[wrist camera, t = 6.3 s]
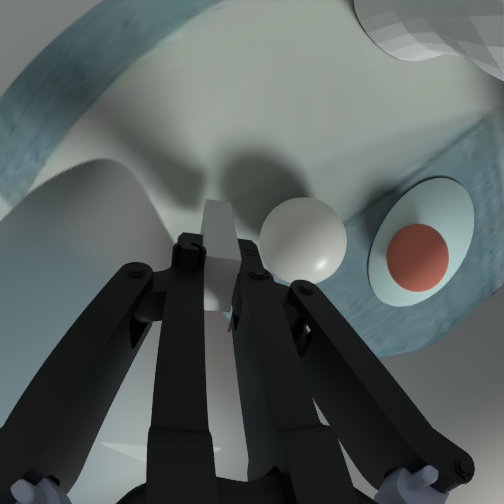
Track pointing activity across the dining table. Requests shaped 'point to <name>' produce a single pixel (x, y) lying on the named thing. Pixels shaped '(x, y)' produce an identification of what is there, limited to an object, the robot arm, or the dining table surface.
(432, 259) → the object ball
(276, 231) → the cue ball
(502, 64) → the cup
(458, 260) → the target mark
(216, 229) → the robot arm
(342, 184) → the dining table surface
